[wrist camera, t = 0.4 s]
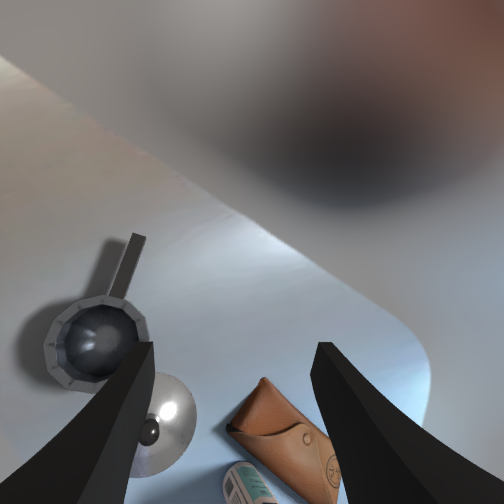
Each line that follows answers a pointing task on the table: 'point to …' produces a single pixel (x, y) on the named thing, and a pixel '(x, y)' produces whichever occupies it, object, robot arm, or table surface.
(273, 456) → the sunglasses case
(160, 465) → the lid
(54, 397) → the table surface
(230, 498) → the white labeled canister
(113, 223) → the table surface
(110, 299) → the saucepan
